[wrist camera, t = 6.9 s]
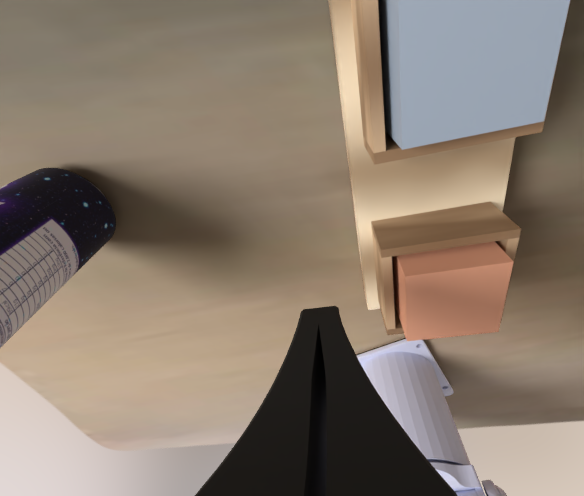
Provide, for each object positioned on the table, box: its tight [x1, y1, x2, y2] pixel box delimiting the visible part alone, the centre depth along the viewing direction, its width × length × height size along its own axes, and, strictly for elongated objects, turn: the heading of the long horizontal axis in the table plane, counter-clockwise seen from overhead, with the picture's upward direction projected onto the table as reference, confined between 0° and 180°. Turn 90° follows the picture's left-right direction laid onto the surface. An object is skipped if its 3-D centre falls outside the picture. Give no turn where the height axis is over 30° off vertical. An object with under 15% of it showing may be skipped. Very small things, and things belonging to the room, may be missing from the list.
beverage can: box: [0, 168, 116, 348], centre depth 16 cm, size 6×6×12 cm
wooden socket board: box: [328, 0, 571, 335], centre depth 16 cm, size 19×8×5 cm, turn 13°
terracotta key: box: [392, 241, 513, 341], centre depth 17 cm, size 5×5×3 cm
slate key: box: [379, 0, 570, 150], centre depth 11 cm, size 5×5×3 cm
